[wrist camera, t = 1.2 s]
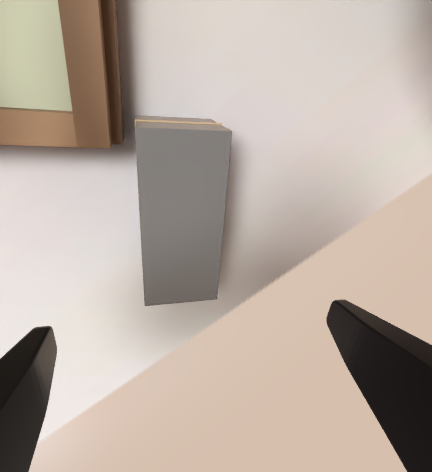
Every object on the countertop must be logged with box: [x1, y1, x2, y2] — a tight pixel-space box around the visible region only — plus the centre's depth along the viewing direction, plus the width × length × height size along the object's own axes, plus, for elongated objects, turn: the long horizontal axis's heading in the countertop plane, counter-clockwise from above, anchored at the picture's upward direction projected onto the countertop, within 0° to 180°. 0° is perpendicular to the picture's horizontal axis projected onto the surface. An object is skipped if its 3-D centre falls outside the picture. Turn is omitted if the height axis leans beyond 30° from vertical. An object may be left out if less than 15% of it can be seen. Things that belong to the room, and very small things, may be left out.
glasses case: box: [135, 115, 232, 306], centre depth 18 cm, size 4×10×5 cm, turn 176°
